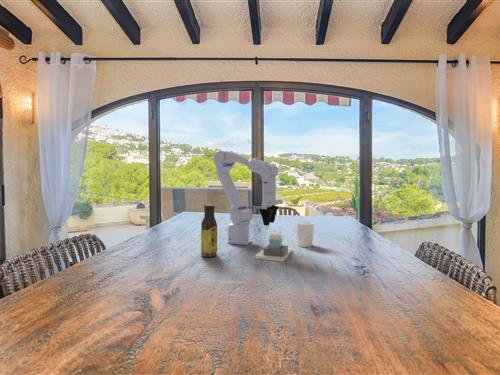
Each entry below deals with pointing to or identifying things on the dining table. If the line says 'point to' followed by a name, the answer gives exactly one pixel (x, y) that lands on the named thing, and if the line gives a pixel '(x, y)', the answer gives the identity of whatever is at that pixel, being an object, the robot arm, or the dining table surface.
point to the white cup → (304, 233)
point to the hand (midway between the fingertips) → (269, 223)
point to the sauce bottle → (209, 233)
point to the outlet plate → (274, 253)
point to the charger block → (275, 241)
